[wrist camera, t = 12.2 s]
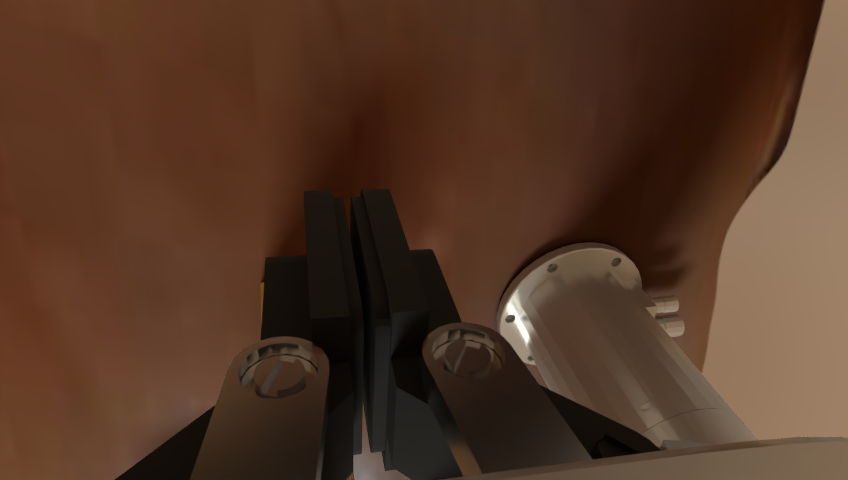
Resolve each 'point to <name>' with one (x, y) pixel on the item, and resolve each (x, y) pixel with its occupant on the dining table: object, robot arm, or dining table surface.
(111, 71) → the dining table surface
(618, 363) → the robot arm
